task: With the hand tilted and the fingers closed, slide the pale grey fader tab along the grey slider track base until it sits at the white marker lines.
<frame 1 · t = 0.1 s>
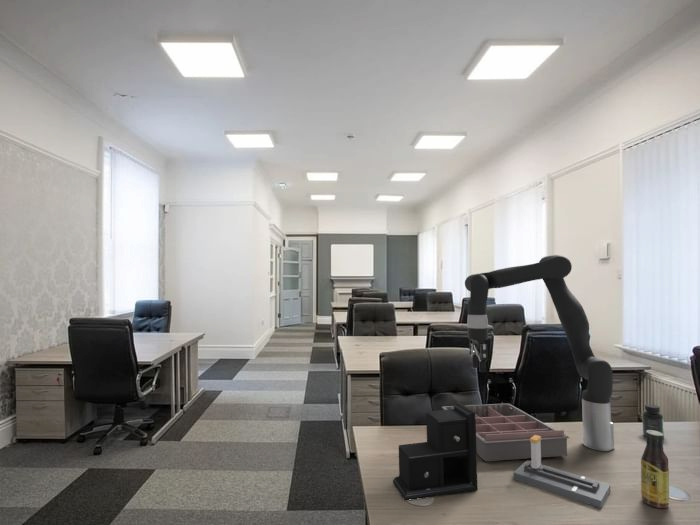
hand: (478, 369, 151), 29 cm above the table, fingers open, 8 cm apart
organizer tray: (498, 441, 157), on the table
black drawer cabinet: (434, 488, 121), on the table
fader tab: (536, 453, 127), point 7 cm above the table, slide at 0.0 cm
grey slider track base: (560, 485, 122), on the table
supplement bottle: (653, 436, 161), on the table
sauce bottle: (655, 504, 112), on the table
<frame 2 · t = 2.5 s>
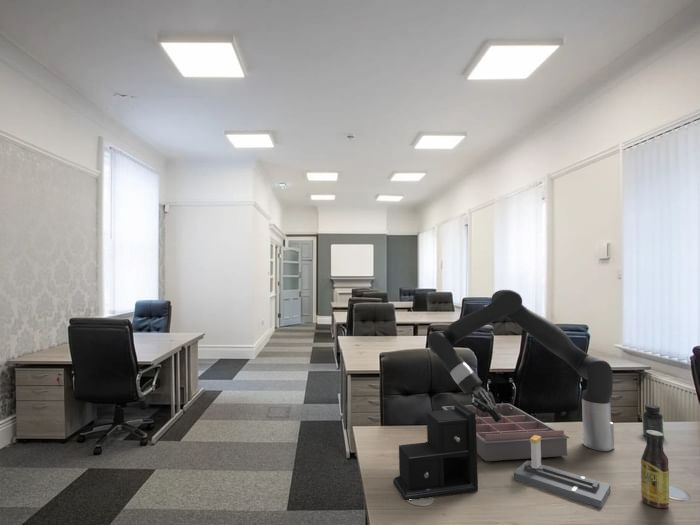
hand: (499, 420, 136), 15 cm above the table, fingers closed
nothing on the table moved.
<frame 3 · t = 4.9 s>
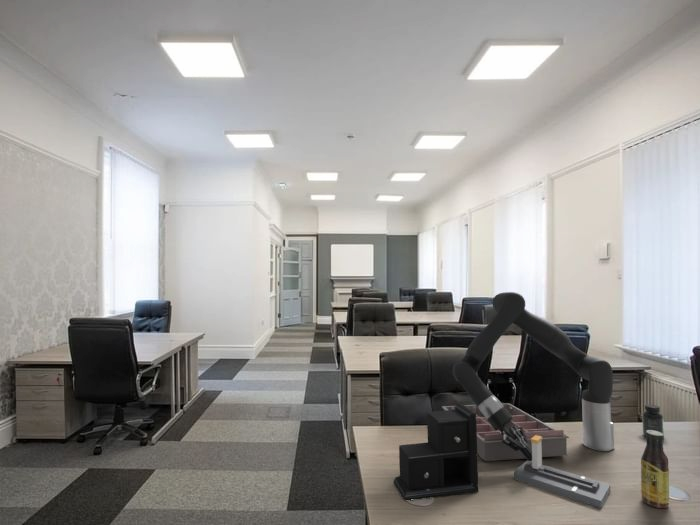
hand: (532, 459, 128), 5 cm above the table, fingers closed
fader tab: (536, 454, 127), point 7 cm above the table, slide at 0.3 cm, touching gripper
everything else where it was.
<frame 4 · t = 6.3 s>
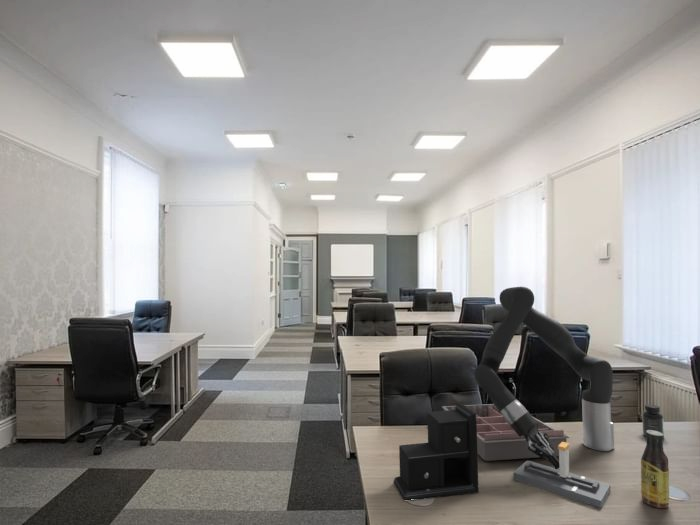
hand: (559, 467, 123), 5 cm above the table, fingers closed
fader tab: (564, 461, 122), point 7 cm above the table, slide at 8.2 cm, touching gripper
everything else where it was.
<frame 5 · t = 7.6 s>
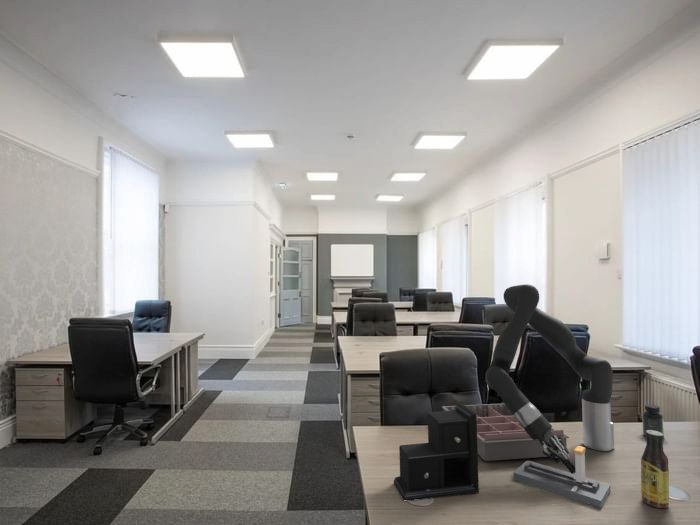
hand: (575, 471, 120), 5 cm above the table, fingers closed
fader tab: (580, 466, 119), point 7 cm above the table, slide at 12.6 cm, touching gripper
everything else where it was.
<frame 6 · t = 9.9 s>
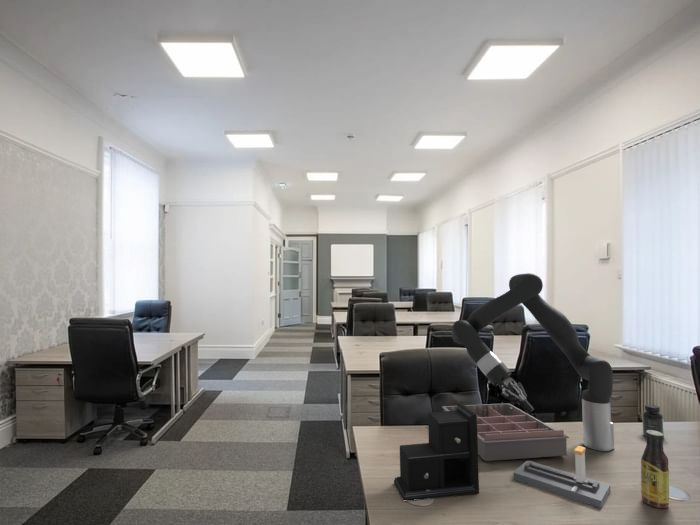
hand: (531, 411, 129), 20 cm above the table, fingers closed
fader tab: (580, 466, 119), point 7 cm above the table, slide at 12.7 cm
everything else where it was.
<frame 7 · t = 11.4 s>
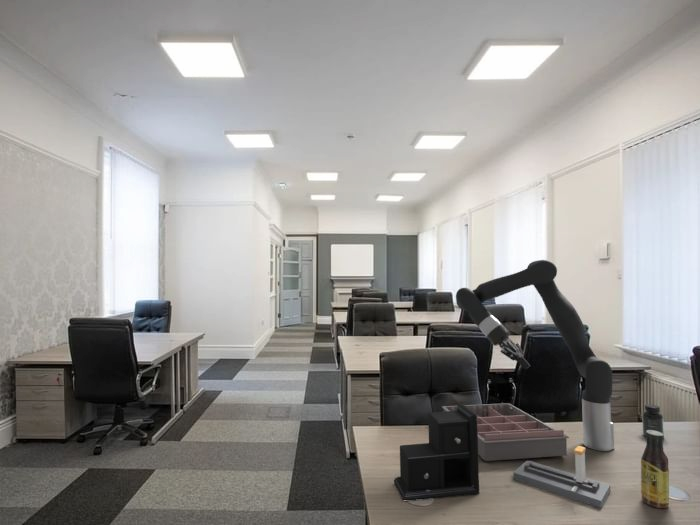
hand: (527, 367, 142), 32 cm above the table, fingers closed
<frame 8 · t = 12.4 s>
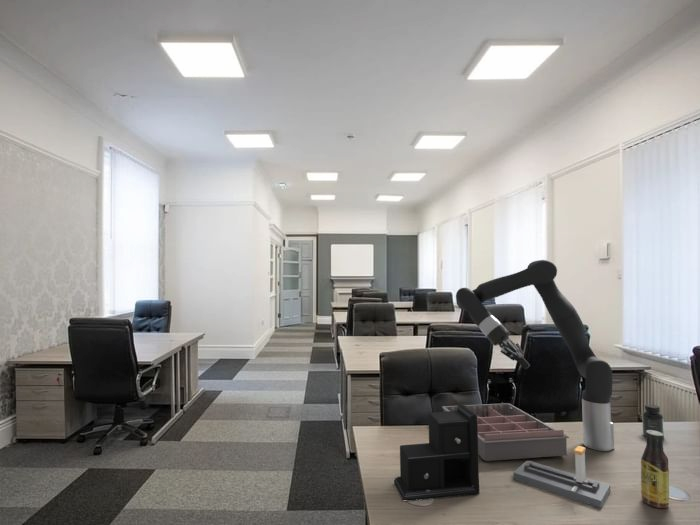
hand: (527, 367, 142), 32 cm above the table, fingers closed
at the end: fader tab slide at 12.7 cm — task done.
